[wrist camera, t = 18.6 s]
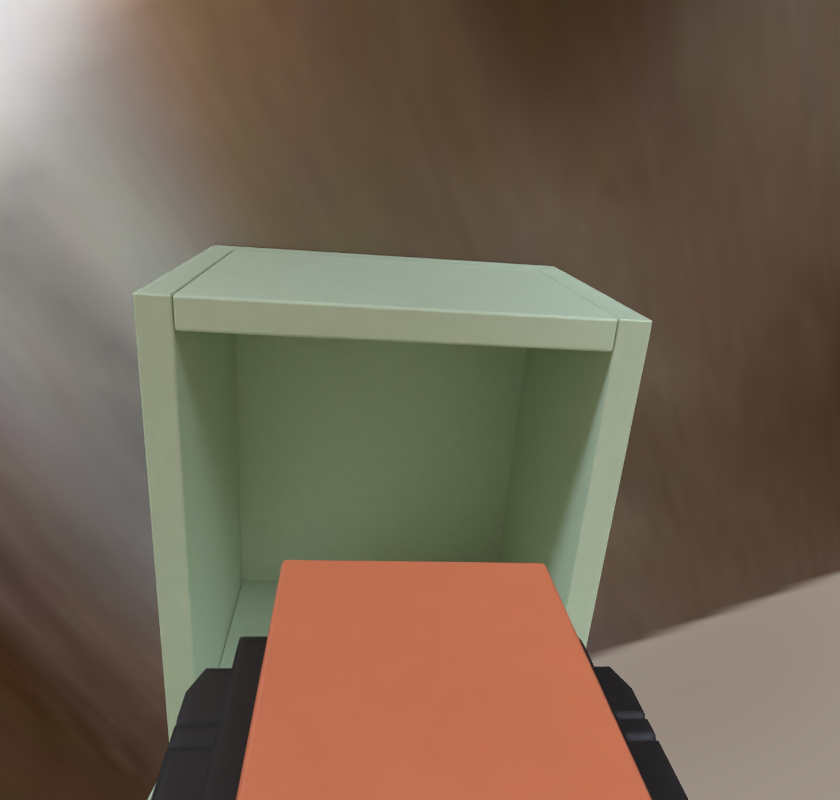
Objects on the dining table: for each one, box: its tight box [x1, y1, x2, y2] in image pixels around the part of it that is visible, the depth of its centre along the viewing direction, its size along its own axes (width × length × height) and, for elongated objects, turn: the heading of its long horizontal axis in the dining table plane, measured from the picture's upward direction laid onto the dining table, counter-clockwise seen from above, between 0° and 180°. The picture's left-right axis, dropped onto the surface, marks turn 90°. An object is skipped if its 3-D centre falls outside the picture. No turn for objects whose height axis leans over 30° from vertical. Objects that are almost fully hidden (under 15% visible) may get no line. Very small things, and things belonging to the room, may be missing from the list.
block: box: [236, 560, 652, 800], centre depth 10 cm, size 5×5×5 cm
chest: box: [133, 245, 652, 742], centre depth 22 cm, size 15×13×9 cm
